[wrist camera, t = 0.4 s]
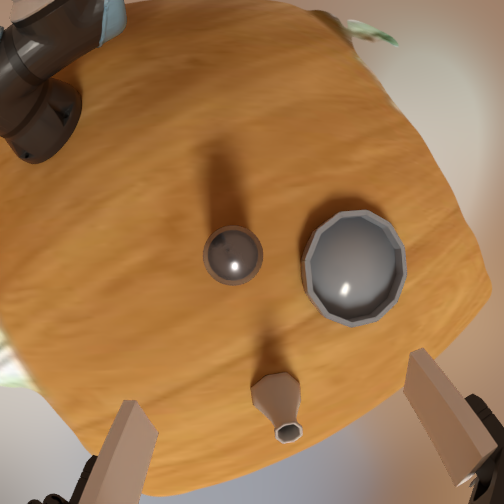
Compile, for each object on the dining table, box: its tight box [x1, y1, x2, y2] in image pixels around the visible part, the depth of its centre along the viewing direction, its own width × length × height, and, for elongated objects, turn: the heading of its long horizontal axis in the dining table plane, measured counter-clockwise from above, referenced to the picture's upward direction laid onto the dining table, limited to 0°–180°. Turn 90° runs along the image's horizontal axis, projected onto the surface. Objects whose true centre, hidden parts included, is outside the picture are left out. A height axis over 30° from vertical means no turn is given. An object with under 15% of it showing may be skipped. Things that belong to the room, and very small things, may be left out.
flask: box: [251, 372, 303, 444], centre depth 30 cm, size 7×7×10 cm
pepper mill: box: [203, 225, 263, 286], centre depth 28 cm, size 5×5×13 cm
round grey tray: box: [301, 210, 407, 328], centre depth 34 cm, size 15×15×2 cm
